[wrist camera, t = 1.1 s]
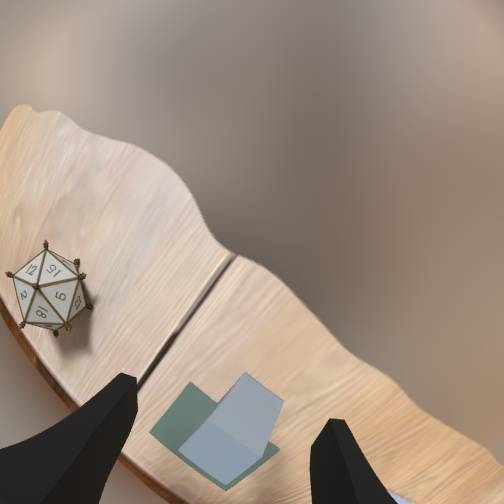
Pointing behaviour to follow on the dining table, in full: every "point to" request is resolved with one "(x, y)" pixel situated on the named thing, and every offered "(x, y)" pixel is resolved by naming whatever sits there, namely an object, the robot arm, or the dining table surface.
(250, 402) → the slate-blue block
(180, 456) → the felt mat
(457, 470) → the dining table surface
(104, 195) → the dining table surface
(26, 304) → the game die
